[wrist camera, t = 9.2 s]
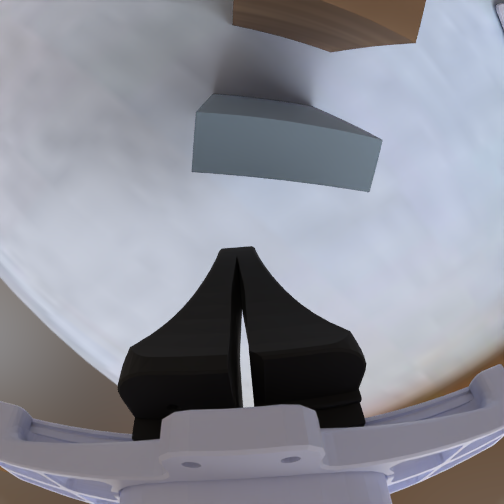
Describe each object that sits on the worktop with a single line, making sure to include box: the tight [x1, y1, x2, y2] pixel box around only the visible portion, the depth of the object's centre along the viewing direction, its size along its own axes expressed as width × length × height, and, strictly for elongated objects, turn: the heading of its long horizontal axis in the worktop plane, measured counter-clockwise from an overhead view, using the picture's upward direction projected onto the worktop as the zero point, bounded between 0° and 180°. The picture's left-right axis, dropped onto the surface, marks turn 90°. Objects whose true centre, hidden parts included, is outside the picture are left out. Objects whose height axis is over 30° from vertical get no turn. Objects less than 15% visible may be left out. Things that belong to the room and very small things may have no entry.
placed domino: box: [192, 94, 382, 192], centre depth 11 cm, size 2×5×8 cm, turn 83°
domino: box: [233, 0, 426, 52], centre depth 9 cm, size 2×5×8 cm, turn 76°
